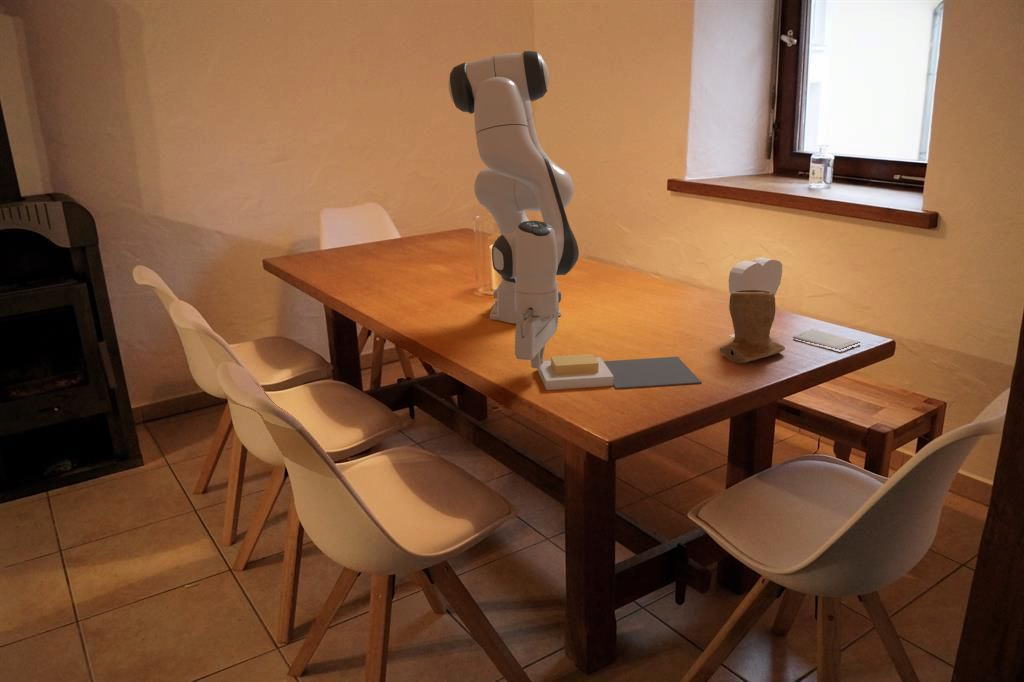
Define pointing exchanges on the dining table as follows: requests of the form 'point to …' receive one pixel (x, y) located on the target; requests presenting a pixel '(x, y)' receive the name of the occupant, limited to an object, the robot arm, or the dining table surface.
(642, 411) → the dining table surface
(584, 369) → the yellow rectangular block
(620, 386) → the mat
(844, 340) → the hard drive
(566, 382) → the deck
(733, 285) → the heart sculpture
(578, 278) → the dining table surface
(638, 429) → the dining table surface
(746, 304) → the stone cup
